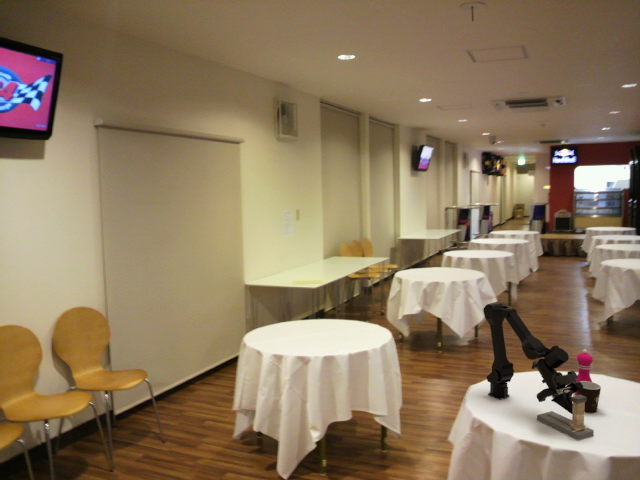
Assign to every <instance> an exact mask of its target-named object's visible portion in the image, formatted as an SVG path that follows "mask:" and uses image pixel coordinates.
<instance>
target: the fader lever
mask: <svg viewBox="0 0 640 480" xmlns="http://www.w3.org/2000/svg"><path fill="white" fill-rule="evenodd" d="M571 401H572V403H573V412H572V414H571V415H572V416H571V417H572V419H571V420H572V424H571V425H570V427H571V428H573V429H575V430H577V431H579V430H582V429H585V427H586V425H585V412H584V409H585V402H587V397H585V396H583V395H577V396H576V395H574V396H573V395H572V397H571Z"/></svg>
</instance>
